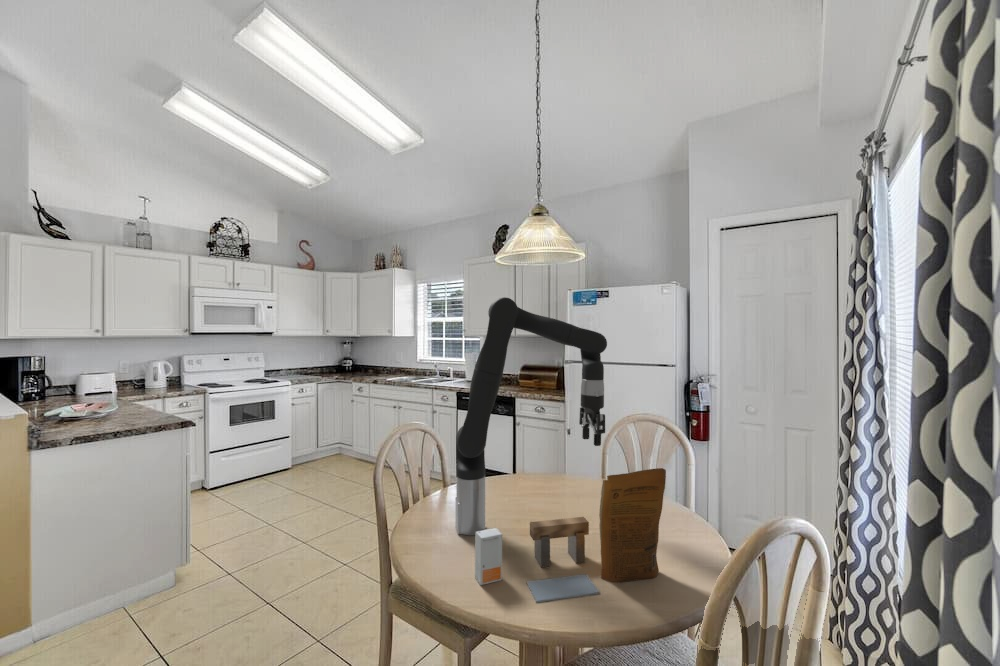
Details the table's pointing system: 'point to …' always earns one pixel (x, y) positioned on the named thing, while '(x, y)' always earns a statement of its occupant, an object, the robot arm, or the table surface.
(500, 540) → the skincare box
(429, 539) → the table surface
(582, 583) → the mat
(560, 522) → the rail
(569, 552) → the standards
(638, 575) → the pancake mix bag
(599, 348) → the robot arm
